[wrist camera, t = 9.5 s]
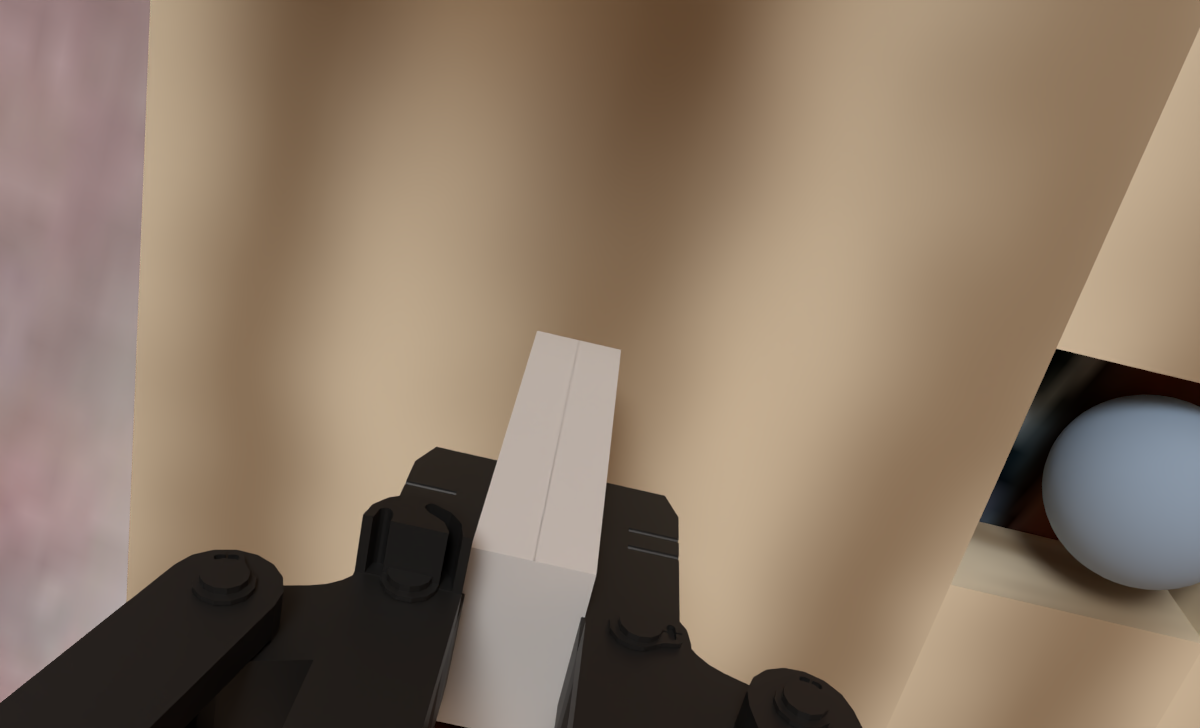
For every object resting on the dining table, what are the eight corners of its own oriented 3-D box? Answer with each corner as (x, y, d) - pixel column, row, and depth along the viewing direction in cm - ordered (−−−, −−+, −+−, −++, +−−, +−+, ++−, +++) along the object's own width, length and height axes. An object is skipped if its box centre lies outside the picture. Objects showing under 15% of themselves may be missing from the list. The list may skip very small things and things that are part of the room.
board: (183, 556, 27) (125, 631, 24) (235, -235, 19) (161, -257, 16) (1237, 800, 27) (1298, 901, 24) (1683, 124, 20) (1843, 159, 17)
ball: (977, 532, 23) (1146, 652, 20) (1048, 369, 21) (1244, 474, 18) (1076, 503, 25) (1241, 606, 22) (1147, 354, 23) (1334, 444, 20)
